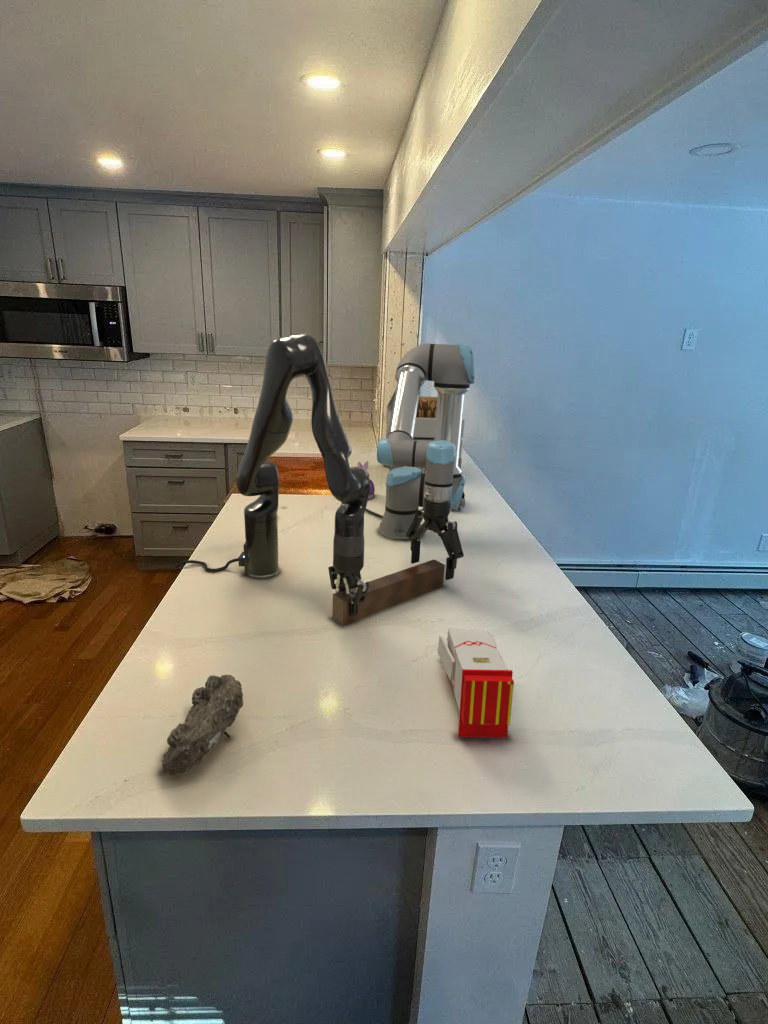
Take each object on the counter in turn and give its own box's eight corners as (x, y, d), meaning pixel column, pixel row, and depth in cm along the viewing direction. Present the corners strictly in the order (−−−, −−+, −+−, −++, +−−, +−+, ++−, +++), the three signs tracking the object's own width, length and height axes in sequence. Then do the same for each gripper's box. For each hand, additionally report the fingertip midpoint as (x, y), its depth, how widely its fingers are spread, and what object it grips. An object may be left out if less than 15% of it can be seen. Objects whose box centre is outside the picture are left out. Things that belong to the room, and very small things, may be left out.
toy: (488, 613, 130) (523, 677, 101) (484, 667, 133) (517, 744, 104) (435, 612, 130) (455, 676, 101) (432, 666, 133) (451, 743, 103)
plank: (342, 626, 141) (343, 601, 138) (332, 618, 144) (332, 594, 142) (443, 586, 163) (445, 564, 161) (432, 580, 166) (433, 559, 164)
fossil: (189, 675, 113) (243, 642, 108) (223, 706, 116) (276, 676, 111) (136, 768, 93) (198, 733, 88) (177, 802, 96) (240, 771, 91)
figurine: (359, 501, 230) (360, 466, 225) (349, 494, 239) (349, 459, 234) (379, 499, 235) (381, 464, 230) (369, 491, 243) (370, 458, 238)
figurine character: (465, 515, 224) (460, 499, 237) (467, 498, 221) (462, 483, 234) (448, 515, 224) (444, 499, 237) (450, 498, 220) (445, 482, 234)
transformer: (382, 463, 289) (386, 382, 275) (445, 464, 293) (451, 384, 279) (390, 482, 257) (394, 392, 243) (460, 483, 261) (468, 394, 247)
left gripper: (319, 543, 140) (318, 604, 146) (354, 563, 130) (352, 627, 136) (343, 536, 145) (342, 595, 151) (379, 555, 135) (376, 618, 141)
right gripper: (396, 489, 160) (392, 558, 167) (462, 514, 143) (455, 590, 149) (415, 486, 165) (411, 553, 172) (481, 508, 147) (473, 582, 154)
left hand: (347, 610), depth 143 cm, fingers closed on plank, 4 cm apart
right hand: (431, 570), depth 161 cm, fingers open, 13 cm apart
